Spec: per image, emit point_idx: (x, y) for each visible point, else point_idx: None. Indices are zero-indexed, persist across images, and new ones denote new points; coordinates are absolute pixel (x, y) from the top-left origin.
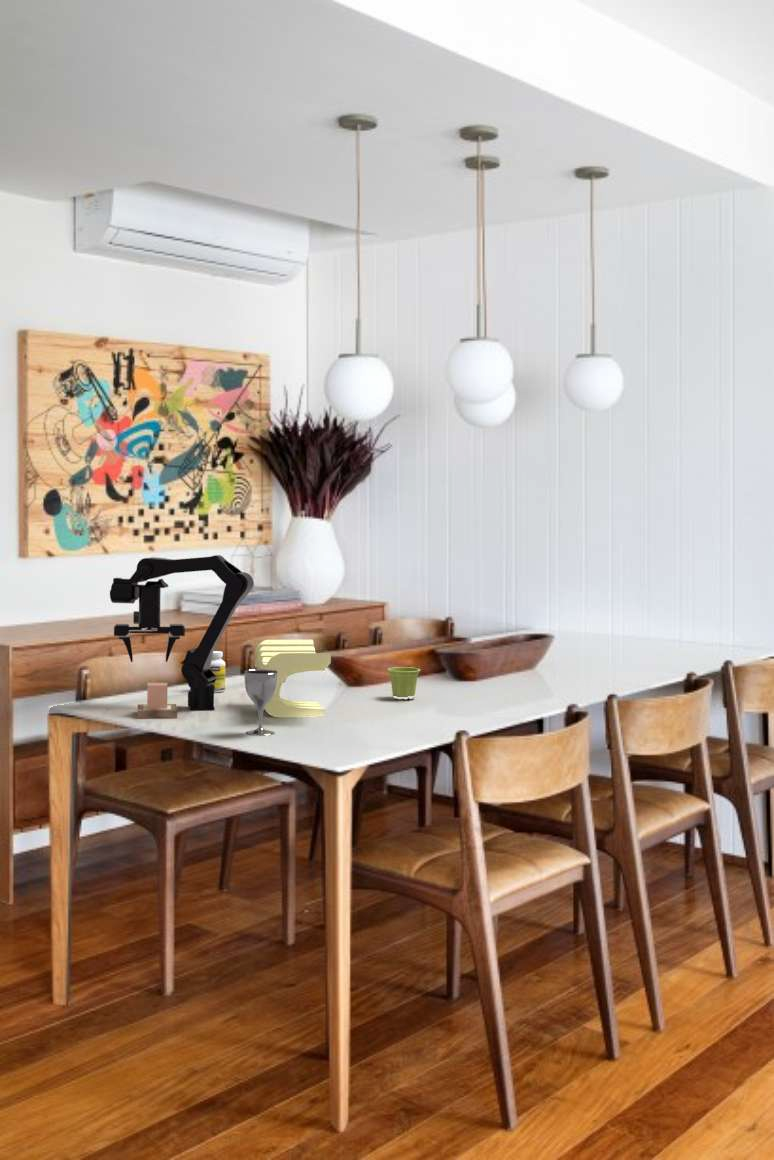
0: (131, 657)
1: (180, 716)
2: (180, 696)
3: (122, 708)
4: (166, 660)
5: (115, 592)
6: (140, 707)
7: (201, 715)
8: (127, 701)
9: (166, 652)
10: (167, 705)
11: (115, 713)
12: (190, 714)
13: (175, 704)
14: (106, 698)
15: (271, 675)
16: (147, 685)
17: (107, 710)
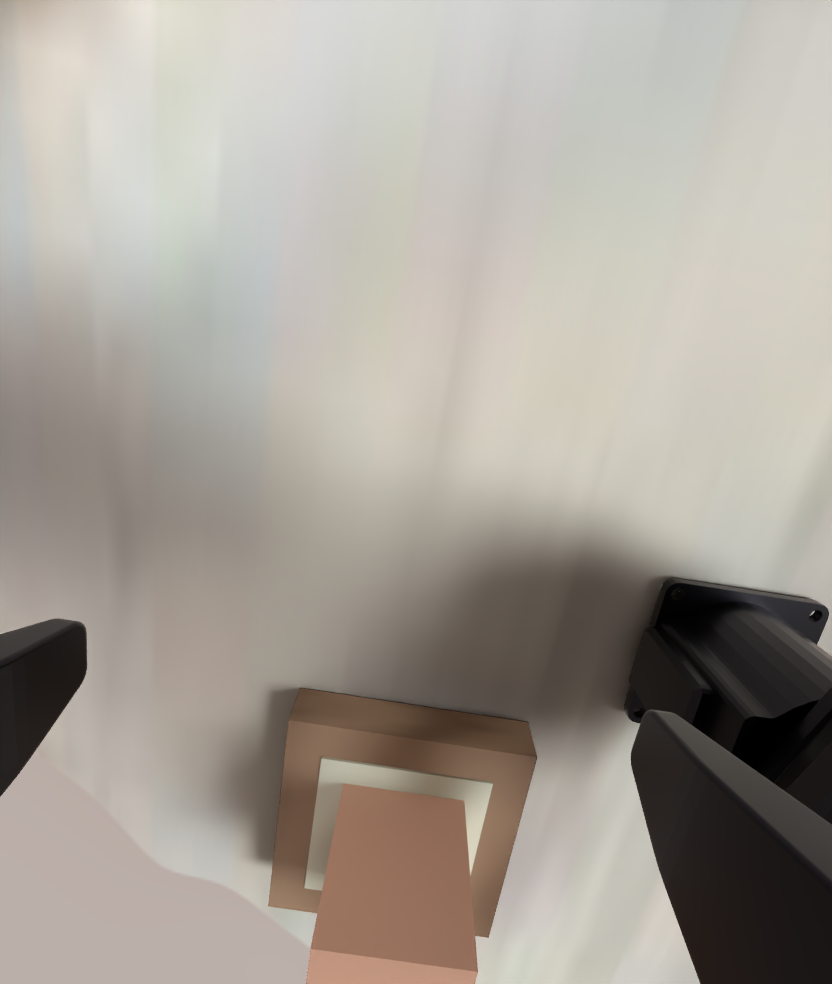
0: (7, 761)
1: (513, 854)
2: (776, 25)
3: (218, 544)
4: (646, 791)
5: None
6: (295, 821)
7: (631, 852)
8: (273, 233)
9: (714, 966)
10: (467, 807)
11: (170, 702)
12: (583, 815)
13: (529, 771)
14: (102, 5)
15: None
16: (314, 929)
17: (122, 596)
